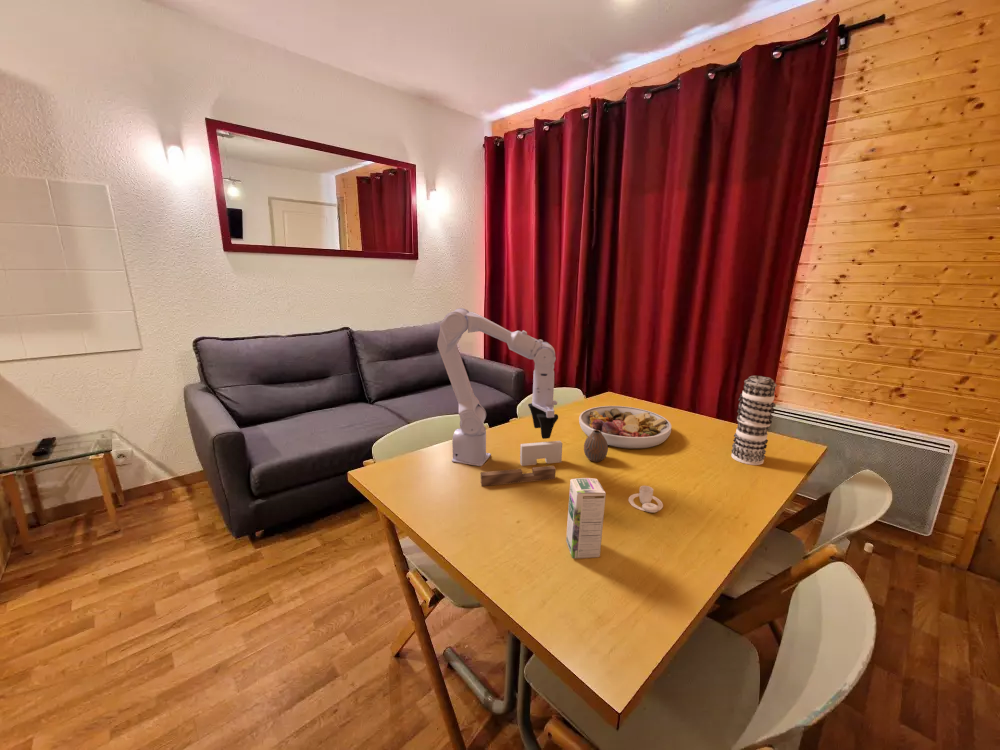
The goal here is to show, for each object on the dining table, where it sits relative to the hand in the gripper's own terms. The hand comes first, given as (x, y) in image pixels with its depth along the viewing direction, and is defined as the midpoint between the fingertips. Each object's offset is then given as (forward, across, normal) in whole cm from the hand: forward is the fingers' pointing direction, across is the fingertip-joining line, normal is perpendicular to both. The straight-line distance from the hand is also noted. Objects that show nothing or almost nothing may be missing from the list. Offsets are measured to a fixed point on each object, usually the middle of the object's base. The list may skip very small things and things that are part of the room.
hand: (541, 432), depth 118 cm
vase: (+10, -1, -17) cm, 19 cm away
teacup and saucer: (+10, -26, -16) cm, 32 cm away
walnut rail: (+9, -9, +9) cm, 16 cm away
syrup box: (+10, -38, +3) cm, 39 cm away
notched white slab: (+9, 0, 0) cm, 9 cm away
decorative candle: (+10, -9, -61) cm, 63 cm away
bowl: (+10, +16, -34) cm, 39 cm away
